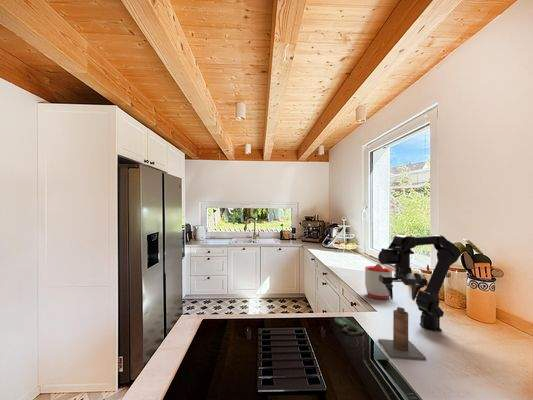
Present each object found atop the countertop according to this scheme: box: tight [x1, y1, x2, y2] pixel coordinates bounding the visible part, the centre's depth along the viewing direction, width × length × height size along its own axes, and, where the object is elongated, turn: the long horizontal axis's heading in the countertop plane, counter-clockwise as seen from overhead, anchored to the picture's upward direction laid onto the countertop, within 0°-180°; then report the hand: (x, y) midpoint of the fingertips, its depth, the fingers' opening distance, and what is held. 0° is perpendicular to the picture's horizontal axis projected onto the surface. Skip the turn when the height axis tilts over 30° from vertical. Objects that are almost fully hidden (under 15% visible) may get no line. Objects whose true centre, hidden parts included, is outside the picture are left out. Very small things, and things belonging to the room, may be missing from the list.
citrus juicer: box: [364, 263, 393, 300], centre depth 160 cm, size 16×17×20 cm
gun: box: [333, 316, 366, 337], centre depth 116 cm, size 16×2×10 cm
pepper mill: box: [392, 306, 409, 351], centre depth 98 cm, size 5×5×14 cm
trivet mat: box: [378, 338, 427, 361], centre depth 97 cm, size 12×12×1 cm
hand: (402, 299), depth 115 cm, fingers open, 9 cm apart
